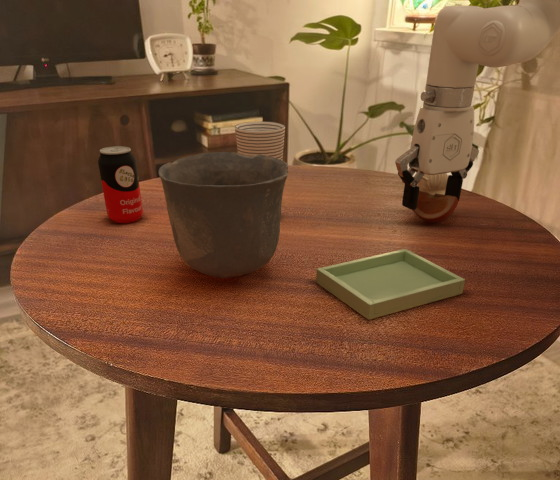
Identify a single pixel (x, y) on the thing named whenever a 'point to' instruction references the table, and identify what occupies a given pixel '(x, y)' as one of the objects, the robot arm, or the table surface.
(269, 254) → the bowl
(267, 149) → the cup
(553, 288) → the table surface
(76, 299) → the table surface
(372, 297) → the serving tray
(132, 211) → the beverage can
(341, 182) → the table surface
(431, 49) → the robot arm
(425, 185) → the decorative ornament
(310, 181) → the table surface
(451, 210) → the fruit slice
